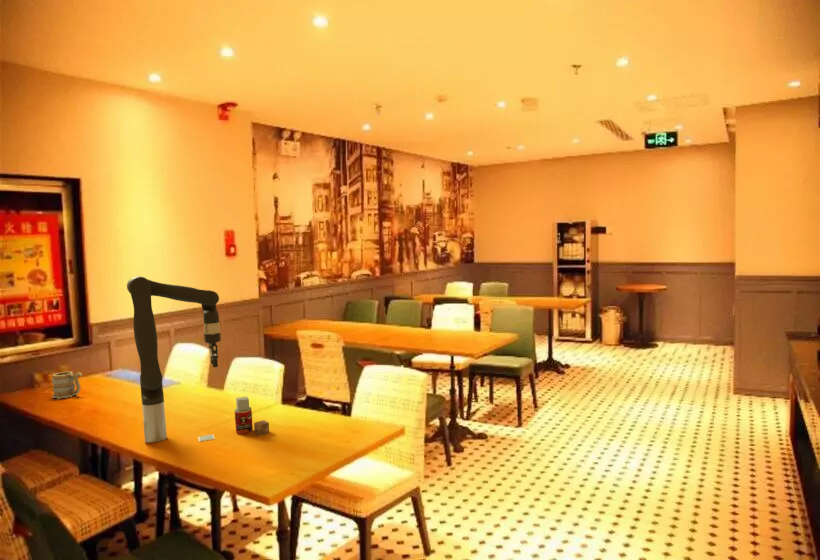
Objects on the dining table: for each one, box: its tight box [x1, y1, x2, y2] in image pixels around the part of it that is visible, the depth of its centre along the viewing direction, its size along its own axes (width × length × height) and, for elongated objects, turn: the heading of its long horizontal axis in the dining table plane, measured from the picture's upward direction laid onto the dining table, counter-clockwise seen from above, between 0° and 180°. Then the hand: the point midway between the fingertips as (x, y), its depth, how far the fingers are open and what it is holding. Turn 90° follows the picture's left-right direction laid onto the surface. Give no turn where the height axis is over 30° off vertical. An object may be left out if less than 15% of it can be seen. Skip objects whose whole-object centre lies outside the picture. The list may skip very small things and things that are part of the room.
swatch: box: [197, 434, 216, 443], centre depth 268 cm, size 7×7×1 cm
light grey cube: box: [235, 396, 250, 411], centre depth 274 cm, size 5×5×5 cm
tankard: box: [51, 371, 83, 400], centre depth 352 cm, size 20×13×15 cm, turn 73°
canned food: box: [234, 406, 254, 436], centre depth 274 cm, size 8×8×11 cm
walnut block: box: [253, 420, 270, 436], centre depth 272 cm, size 5×5×5 cm
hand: (214, 365), depth 282 cm, fingers open, 8 cm apart
